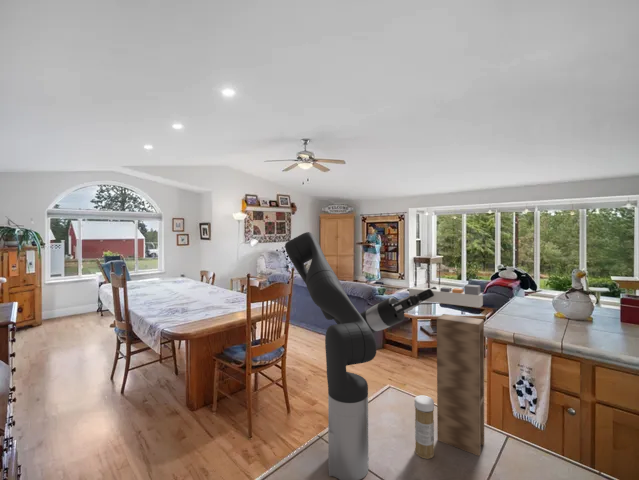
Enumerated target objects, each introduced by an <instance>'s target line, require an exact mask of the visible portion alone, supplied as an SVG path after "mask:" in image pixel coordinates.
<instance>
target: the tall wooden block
mask: <svg viewBox="0 0 639 480" xmlns="http://www.w3.org/2000/svg"><path fill="white" fill-rule="evenodd" d="M484 325H485V321H484V319H482V318H475V317H469V316H462V315H454V314H446V313H443V314H442V315H440V316H438V317H437V318H436V394H437V395H436V402H437V405H436V407H437V410H436V411H437V413H436V415H437V420H436V421H437V427H436V428H437V429H436V430H437V437H436V438H437V441H439V442H441V443H443V444H446V445H449V446H452V447H454V448H457V449H458V450H459V449H460V450H462V451H465V452H467V453H470V454H473V455H475V456H477V457H480V456H481V446H484V445H485V338H484V337H485V331H484V330H485V326H484Z"/></svg>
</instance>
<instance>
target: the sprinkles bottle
mask: <svg viewBox="0 0 639 480" xmlns="http://www.w3.org/2000/svg"><path fill="white" fill-rule="evenodd" d="M414 409H415V410H414V411H415V413H414V414H415V415H414V416H415V417H414V418H415V419H414V421H415V422H414V437H415V438H414V439H415V447H414V452H415V454H416V455H417V456H418V457H420V458H422V459H424V460H427V459H428V460H429V459H432V458H433V457H434V456H435V449H434V445H435V443H434V442H435V424H434V423H435V422H434V420H435V419H434V411H435V401H434V399H433V398H432V397H431V396H427V395H417V396H415V397H414Z"/></svg>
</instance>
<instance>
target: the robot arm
mask: <svg viewBox="0 0 639 480" xmlns="http://www.w3.org/2000/svg"><path fill="white" fill-rule="evenodd" d="M284 249H285V252H286V254H287V256H288V258H289V260H290V262H291V263H292V265H293V266H294V268H295V269H296V272H297V273H298V275H299V276H300V277H301V279H302V281H303V282H304V283H305V286H306V288H307V291H308V293H309V296H310V298H311V300H312V302H313V303H314V304H315V305H316V306H317V307H318V308H320V310H321V312H322V314H323V316H324V317H325V319H326V320H327V321H331V320H332V321H334V322H335V323H336V324H331V325H329V326H328V327H327V329H326V331H325V337H324V343H325V344H324V345H325V348H324V349H325V361H326V362H325V363H326V380H327V392H328V394H327V395H328V397H327V399H328V400H327V403H328V406H327V407H328V410H327V411H328V413H327V414H328V417H327V419H328V424H327V425H328V427H327V428H328V431H327V434H328V435H327V436H328V441H327V443H328V450H327V451H328V476H329V477H334V478H337V479H338V480H362V479H363V478H365V477H366V476H367V474H368V473H369V462H370V461H369V460H370V459H369V458H370V457H369V385H368V384H369V383H368V381H367V380H366V379H365V378H364V377H363V376H361V375H360V374H357V373H354V372H350V371H347V366H353V365H359V364H365V363H368V362H371V361H373V360H374V358H375V357H376V354H377V348H378V347H377V342H376V338H375V335H374V333H375V334H376V332H378V331H379V332H380V331H383V330H385V329H387V328H390V327H392V326H394V325H397V324H400V323H401V322H404V320H405V314H406V313H408V312H410V311H411V310H413V309H414V308H417V307H419V306H420V305H421V304H422V303H423V302H425V301H424V300H426V299H428V298H431V297H433V296H434V294H433V292H432V290H431V289H438V288H437V287H436V286H433V287H429V289H427V290H425V291H423V292H421V293H419V294H415V295H414V296H409V295H408V296H405V297H403V298H400V299H397V298H395V297H389V298H387V299H385V300H383V301H381V302H379V303H377V304H375V305H373V306H371V307H369V308H368V309H367V310H365V311H362V312H359V310H358V309H357V308H356V306H355V305H354V304H353V302H352V301H351V299H350V298H349V296H348V294H347V292H346V291H345V289H344V287H343V285H342V283H341V281H340V280H339V278H338V276H337V274H336V272H335V271H334V270H333V268H332V267H331V265H330V264H329V261H328V260H327V258H326V256H325V254H324V251H323V250H322V248H321V245H320V243H319V241H318V240H317V238H316V237H315V235H314V234H313V233H312V232H310V231H309V232H308V231H307V232H304V233H302V234H299V235H297V236H295V237H293V238H292V239H290V240H288V241H287V242H286V243H285V244H284ZM309 261H311V262H310V265H309V267H308V268H307V267H306V266H305V264H306V263H307V262H309Z"/></svg>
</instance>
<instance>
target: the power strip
mask: <svg viewBox="0 0 639 480" xmlns="http://www.w3.org/2000/svg"><path fill="white" fill-rule="evenodd" d="M427 289H430V287H429V288H428V287H427V288H426V287H417V286H413V287H410V288H409V289H408V296H414V295H415V294H419V293H421V292H423V291H425V290H427ZM431 290H432V292H433V294H434V296H433V297H431V298H428V299H426V300H424V301H423V302H429V303H430V302H431V303H439V304H446V305H455V306H463V307H469V308H470V307H471V308H472V307H473V308H481V307H483V305H484V294H483V293H481V285H477V284H466V285H464V288H456V287H454V288H452V287H447V286H446V287H445V286H444V287H441V288H439V289H438V288H437V289H431Z"/></svg>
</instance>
